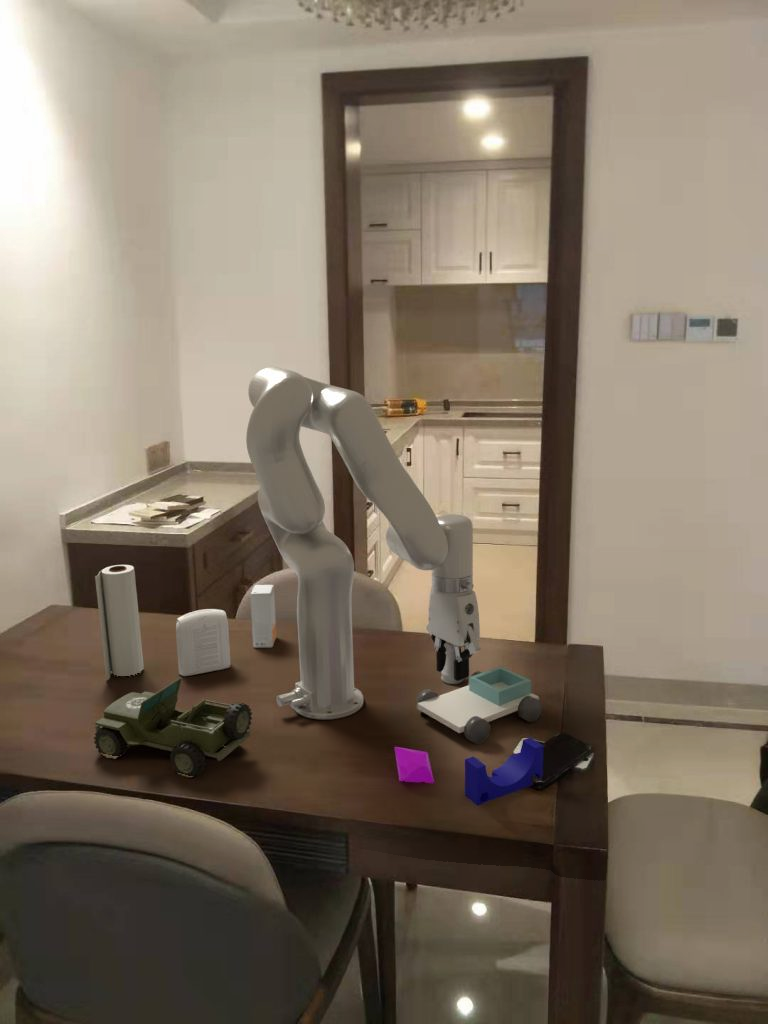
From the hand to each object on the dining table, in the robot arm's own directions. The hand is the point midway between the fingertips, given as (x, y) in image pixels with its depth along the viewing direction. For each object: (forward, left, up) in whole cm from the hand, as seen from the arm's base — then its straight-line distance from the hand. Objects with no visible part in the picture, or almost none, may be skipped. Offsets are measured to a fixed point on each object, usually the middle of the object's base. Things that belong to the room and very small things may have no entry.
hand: (452, 673), depth 165 cm
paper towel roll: (-48, +43, -2) cm, 64 cm away
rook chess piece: (0, 0, -2) cm, 2 cm away
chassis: (-6, -14, -1) cm, 15 cm away
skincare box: (-19, +39, -2) cm, 43 cm away
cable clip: (-18, -33, -2) cm, 37 cm away
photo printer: (-35, +34, -2) cm, 49 cm away
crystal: (-27, -23, -2) cm, 36 cm away
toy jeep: (-53, +7, -2) cm, 53 cm away
